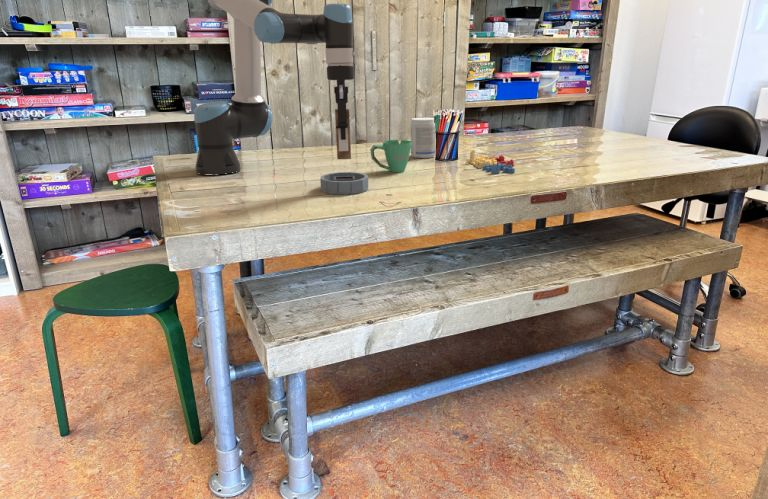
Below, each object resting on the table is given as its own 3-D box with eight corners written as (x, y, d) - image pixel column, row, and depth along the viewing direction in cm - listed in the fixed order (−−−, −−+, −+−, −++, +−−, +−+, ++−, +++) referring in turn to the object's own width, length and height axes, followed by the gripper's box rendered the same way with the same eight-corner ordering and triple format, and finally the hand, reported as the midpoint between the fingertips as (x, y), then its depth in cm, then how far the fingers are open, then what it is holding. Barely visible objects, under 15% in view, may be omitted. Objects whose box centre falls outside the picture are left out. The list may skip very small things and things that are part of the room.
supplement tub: (440, 156, 213) (440, 118, 208) (423, 159, 207) (424, 120, 202) (421, 153, 219) (422, 116, 214) (405, 156, 213) (405, 118, 208)
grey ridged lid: (320, 195, 155) (319, 182, 153) (322, 184, 168) (321, 172, 167) (369, 194, 156) (368, 181, 154) (367, 183, 169) (366, 171, 167)
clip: (334, 188, 159) (333, 179, 158) (334, 185, 163) (333, 176, 162) (355, 188, 160) (354, 179, 159) (354, 184, 164) (354, 175, 163)
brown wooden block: (337, 159, 157) (335, 109, 153) (337, 158, 159) (335, 109, 155) (351, 158, 157) (349, 109, 153) (350, 157, 160) (349, 108, 155)
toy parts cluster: (448, 154, 220) (448, 141, 219) (480, 152, 223) (481, 139, 221) (491, 176, 179) (492, 160, 177) (530, 174, 182) (531, 158, 180)
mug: (404, 167, 193) (404, 139, 189) (416, 172, 184) (416, 142, 181) (366, 170, 187) (365, 141, 184) (376, 176, 179) (375, 145, 175)
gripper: (354, 64, 143) (357, 153, 151) (353, 64, 157) (356, 145, 165) (325, 65, 142) (330, 154, 150) (327, 65, 157) (331, 146, 165)
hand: (343, 149), depth 158 cm, fingers closed on brown wooden block, 2 cm apart
